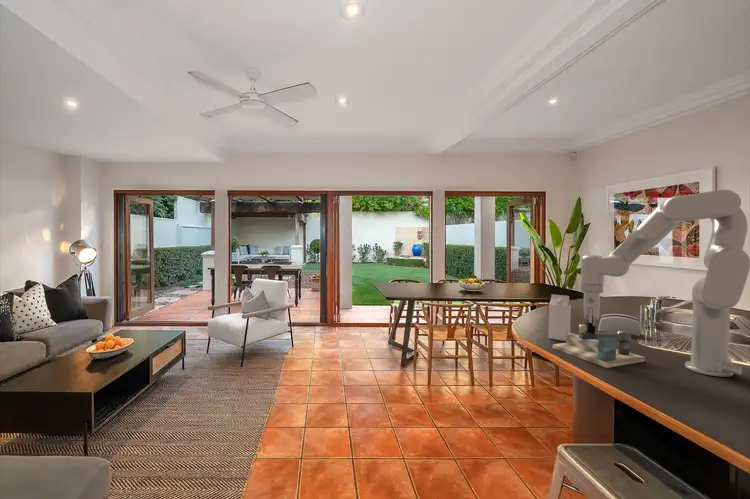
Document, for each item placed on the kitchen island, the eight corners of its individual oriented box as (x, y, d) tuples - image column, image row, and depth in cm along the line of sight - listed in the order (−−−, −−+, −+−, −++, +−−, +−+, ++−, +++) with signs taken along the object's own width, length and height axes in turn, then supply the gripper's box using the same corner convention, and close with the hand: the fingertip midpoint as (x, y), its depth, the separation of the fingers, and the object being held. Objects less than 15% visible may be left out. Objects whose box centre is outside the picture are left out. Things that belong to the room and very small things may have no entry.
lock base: (644, 361, 142) (645, 336, 141) (606, 367, 135) (607, 342, 134) (587, 343, 164) (587, 322, 164) (552, 348, 157) (552, 325, 157)
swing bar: (626, 338, 148) (626, 324, 148) (633, 341, 144) (634, 326, 143) (576, 338, 148) (576, 323, 148) (582, 341, 144) (582, 326, 144)
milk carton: (552, 335, 177) (553, 293, 176) (570, 338, 172) (571, 295, 171) (548, 338, 171) (549, 295, 170) (565, 341, 167) (567, 297, 166)
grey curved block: (639, 333, 180) (641, 314, 177) (640, 339, 176) (642, 319, 173) (597, 328, 188) (598, 310, 185) (598, 334, 184) (598, 315, 181)
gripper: (602, 291, 140) (601, 342, 141) (603, 286, 153) (601, 332, 154) (579, 289, 144) (577, 339, 145) (581, 284, 157) (580, 330, 158)
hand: (590, 335), depth 149 cm, fingers closed
